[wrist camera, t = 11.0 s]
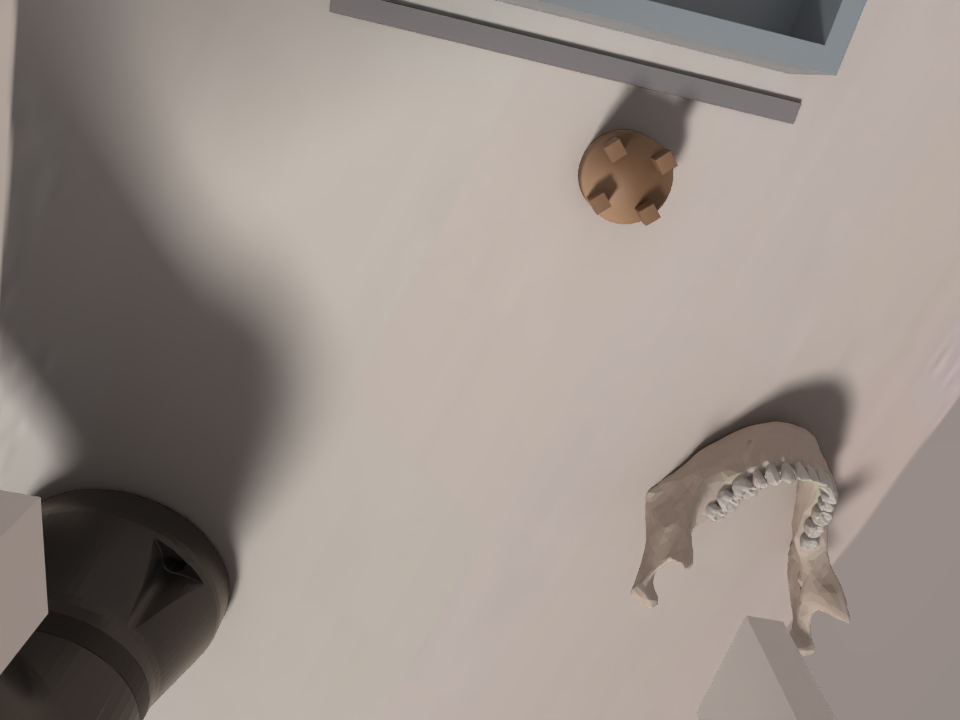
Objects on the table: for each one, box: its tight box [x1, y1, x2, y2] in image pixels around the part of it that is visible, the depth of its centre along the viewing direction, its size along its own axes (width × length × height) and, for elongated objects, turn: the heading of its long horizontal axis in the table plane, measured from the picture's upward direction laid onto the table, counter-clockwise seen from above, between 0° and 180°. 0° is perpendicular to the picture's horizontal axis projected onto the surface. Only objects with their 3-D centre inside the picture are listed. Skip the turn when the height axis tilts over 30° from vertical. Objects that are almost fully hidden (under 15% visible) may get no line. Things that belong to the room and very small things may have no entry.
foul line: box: [330, 0, 801, 124], centre depth 33 cm, size 24×1×1 cm, turn 78°
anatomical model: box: [631, 421, 850, 656], centre depth 41 cm, size 13×11×10 cm
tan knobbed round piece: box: [578, 130, 678, 226], centre depth 34 cm, size 4×4×3 cm
